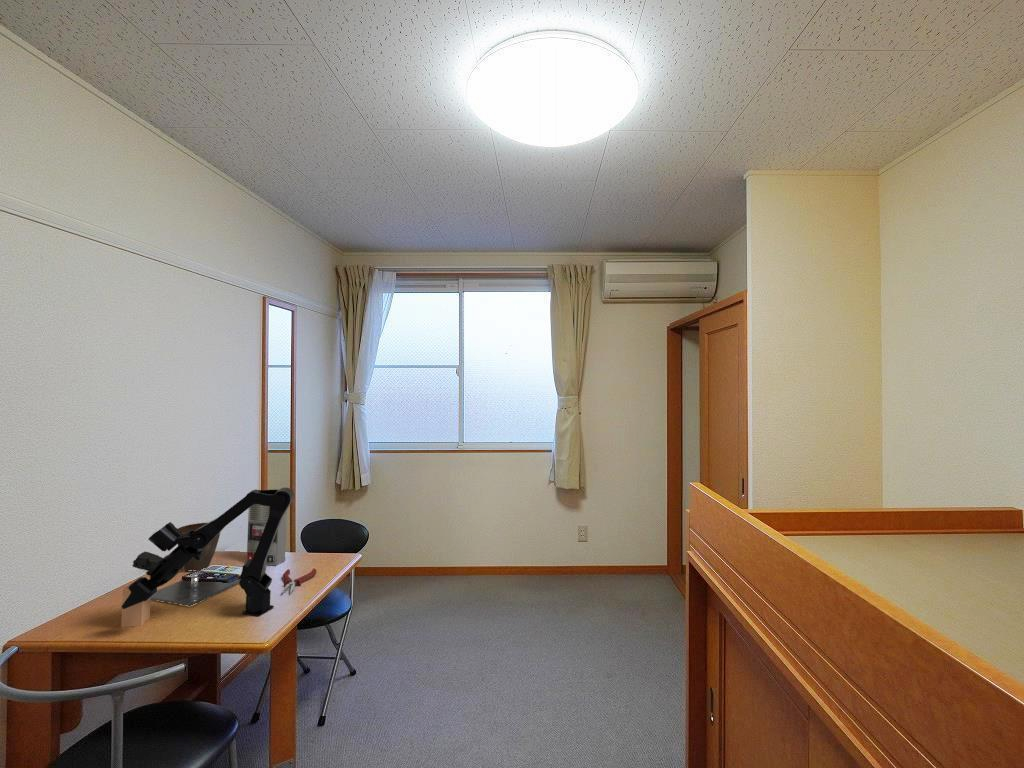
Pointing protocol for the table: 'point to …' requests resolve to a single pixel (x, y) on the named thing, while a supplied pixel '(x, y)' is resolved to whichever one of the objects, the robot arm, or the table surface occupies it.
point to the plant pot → (208, 549)
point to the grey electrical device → (255, 529)
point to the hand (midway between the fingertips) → (131, 600)
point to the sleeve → (134, 611)
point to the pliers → (296, 580)
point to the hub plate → (191, 591)
